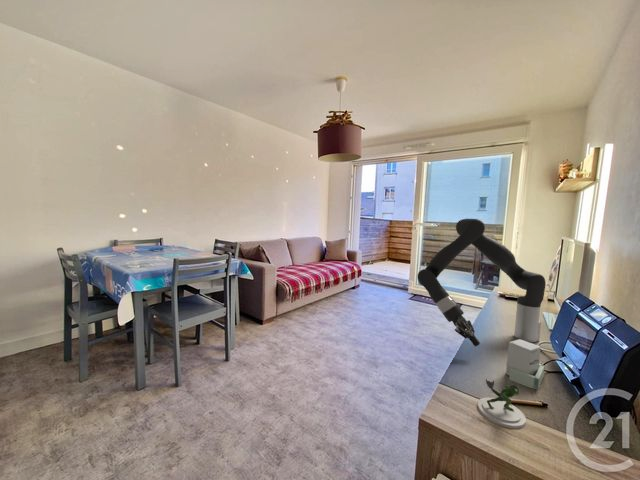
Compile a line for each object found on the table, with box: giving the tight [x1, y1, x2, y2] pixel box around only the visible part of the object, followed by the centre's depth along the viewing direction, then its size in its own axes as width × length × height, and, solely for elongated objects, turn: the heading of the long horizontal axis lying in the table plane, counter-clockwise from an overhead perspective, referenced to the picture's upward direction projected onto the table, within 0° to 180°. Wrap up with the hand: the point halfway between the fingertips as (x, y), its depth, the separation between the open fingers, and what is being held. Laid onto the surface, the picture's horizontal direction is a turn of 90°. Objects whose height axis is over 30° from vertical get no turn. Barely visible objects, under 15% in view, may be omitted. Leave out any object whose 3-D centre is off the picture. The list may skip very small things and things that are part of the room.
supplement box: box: [505, 338, 542, 376], centre depth 102 cm, size 7×7×13 cm
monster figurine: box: [477, 378, 527, 429], centre depth 82 cm, size 12×12×10 cm
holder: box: [508, 363, 546, 391], centre depth 101 cm, size 8×13×4 cm, turn 134°
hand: (477, 345), depth 113 cm, fingers closed
